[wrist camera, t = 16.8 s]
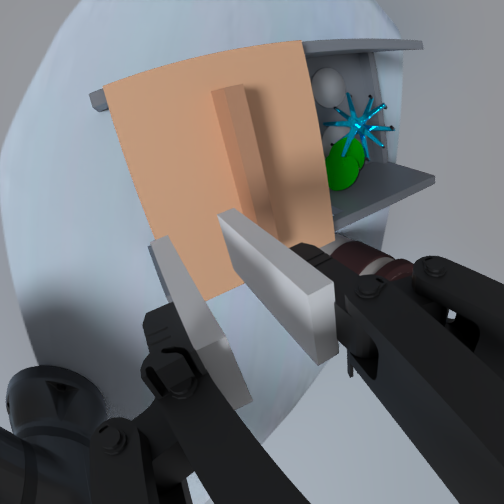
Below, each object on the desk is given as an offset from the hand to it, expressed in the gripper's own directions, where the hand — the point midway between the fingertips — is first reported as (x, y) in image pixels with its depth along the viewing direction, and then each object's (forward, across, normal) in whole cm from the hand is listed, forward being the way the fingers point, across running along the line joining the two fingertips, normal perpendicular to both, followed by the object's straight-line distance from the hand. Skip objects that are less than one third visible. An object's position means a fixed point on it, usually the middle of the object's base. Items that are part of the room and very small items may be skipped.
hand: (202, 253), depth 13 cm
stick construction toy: (+18, +23, -4) cm, 29 cm away
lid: (+10, +5, 0) cm, 11 cm away
